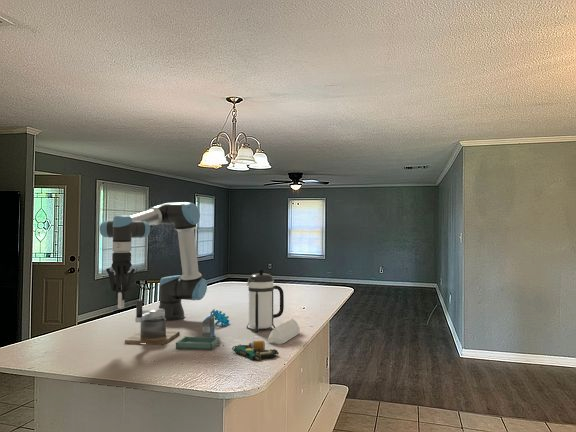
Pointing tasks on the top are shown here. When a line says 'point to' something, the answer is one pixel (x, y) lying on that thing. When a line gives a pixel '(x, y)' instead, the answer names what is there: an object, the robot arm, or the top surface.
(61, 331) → the top surface
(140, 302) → the crank
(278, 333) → the white faceted wedge
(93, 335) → the top surface
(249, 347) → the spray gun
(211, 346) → the tray
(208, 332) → the label tape cartridge
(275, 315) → the coffee press
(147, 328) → the stand
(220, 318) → the gear
